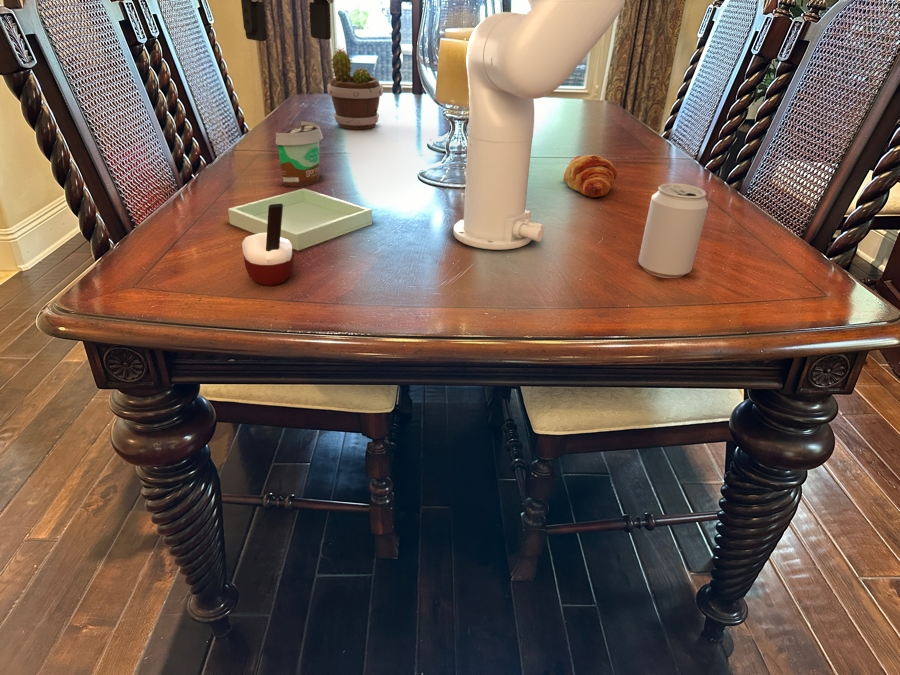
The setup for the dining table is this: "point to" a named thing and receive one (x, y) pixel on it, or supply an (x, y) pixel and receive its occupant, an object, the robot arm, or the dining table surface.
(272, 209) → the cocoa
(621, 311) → the dining table surface
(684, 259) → the can
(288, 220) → the tray
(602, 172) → the croissant
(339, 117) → the flowerpot
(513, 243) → the robot arm
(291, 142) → the food container
